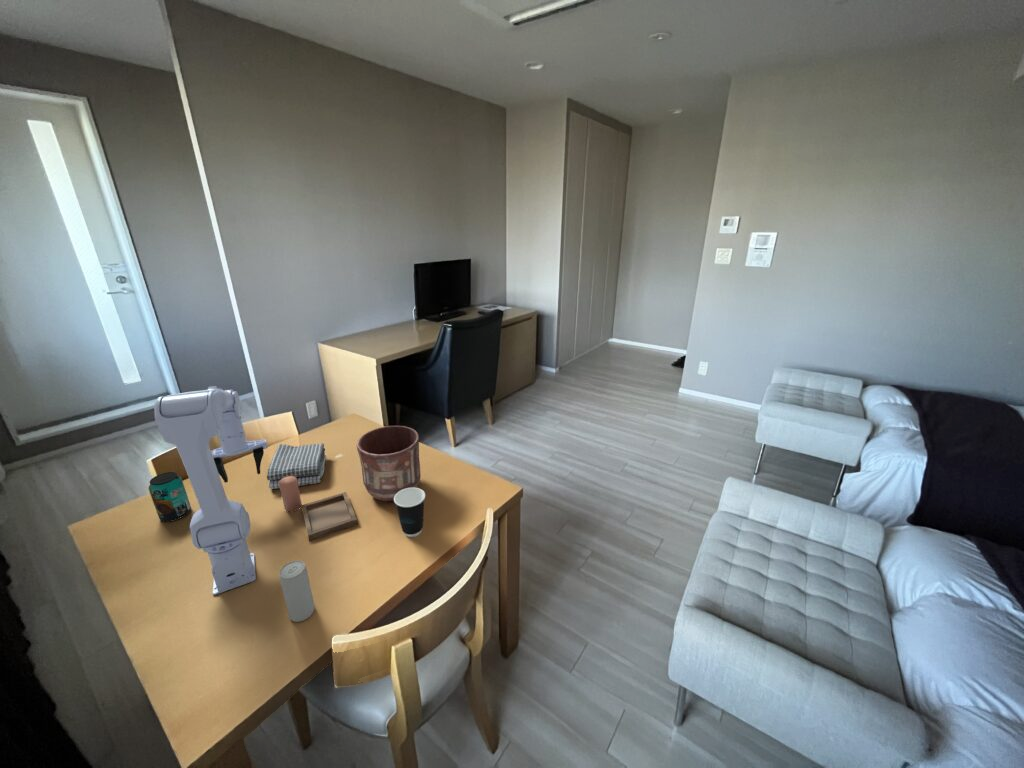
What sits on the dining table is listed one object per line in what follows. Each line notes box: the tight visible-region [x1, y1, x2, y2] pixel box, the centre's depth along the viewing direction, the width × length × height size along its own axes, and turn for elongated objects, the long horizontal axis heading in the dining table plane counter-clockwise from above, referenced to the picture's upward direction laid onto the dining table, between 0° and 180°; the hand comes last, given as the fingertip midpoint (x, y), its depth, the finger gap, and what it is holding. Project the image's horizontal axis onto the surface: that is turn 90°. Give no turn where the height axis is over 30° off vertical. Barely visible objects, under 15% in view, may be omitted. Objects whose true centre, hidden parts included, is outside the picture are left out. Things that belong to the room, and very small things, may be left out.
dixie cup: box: [393, 487, 426, 538], centre depth 106 cm, size 8×8×11 cm
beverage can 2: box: [278, 560, 316, 623], centre depth 83 cm, size 5×5×12 cm
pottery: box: [356, 425, 421, 503], centre depth 121 cm, size 18×18×18 cm
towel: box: [266, 442, 327, 490], centre depth 131 cm, size 15×18×8 cm
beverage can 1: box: [148, 471, 192, 522], centre depth 111 cm, size 7×7×12 cm
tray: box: [301, 491, 358, 542], centre depth 112 cm, size 14×12×2 cm
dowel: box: [279, 476, 303, 513], centre depth 115 cm, size 4×4×9 cm
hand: (242, 476), depth 113 cm, fingers open, 7 cm apart
